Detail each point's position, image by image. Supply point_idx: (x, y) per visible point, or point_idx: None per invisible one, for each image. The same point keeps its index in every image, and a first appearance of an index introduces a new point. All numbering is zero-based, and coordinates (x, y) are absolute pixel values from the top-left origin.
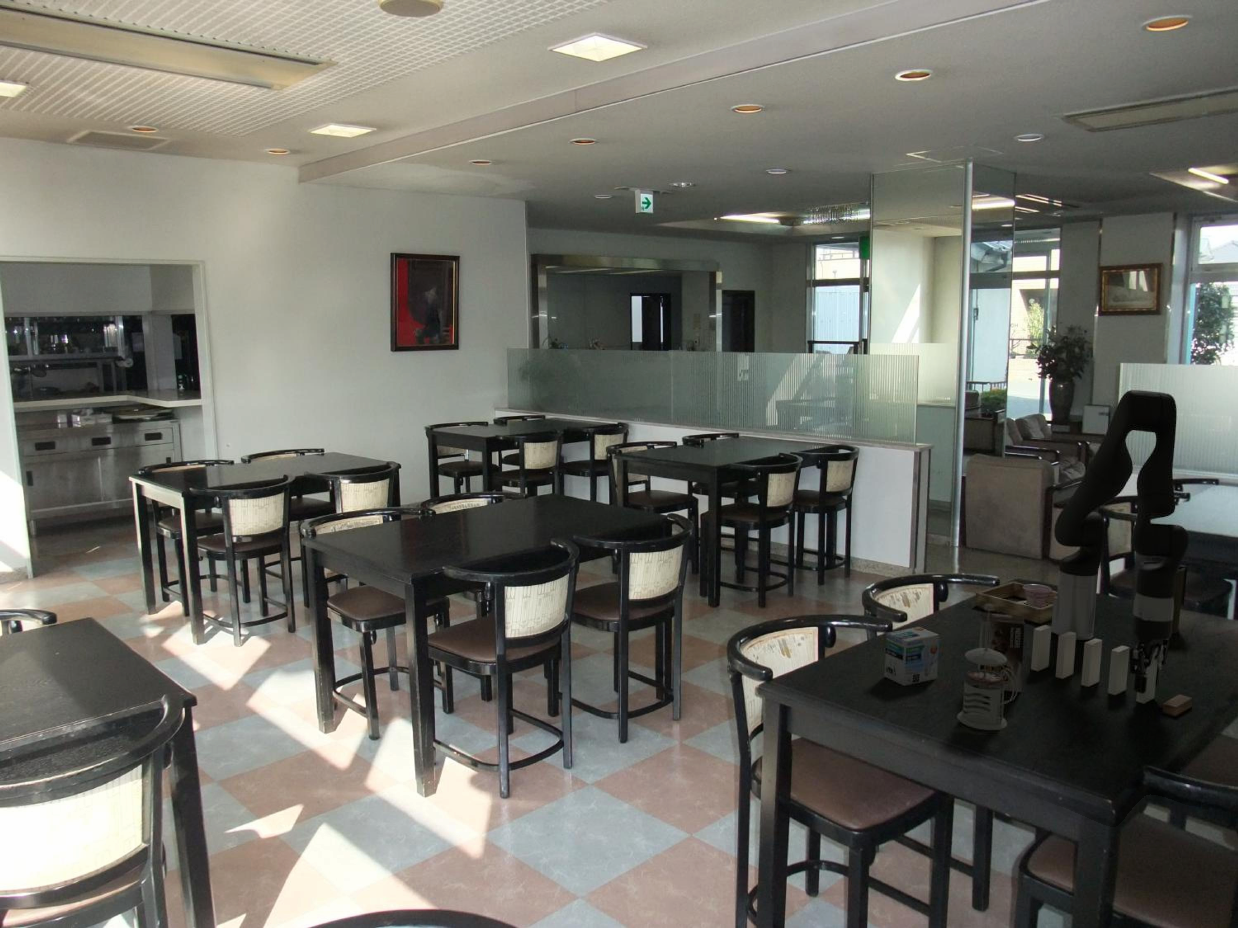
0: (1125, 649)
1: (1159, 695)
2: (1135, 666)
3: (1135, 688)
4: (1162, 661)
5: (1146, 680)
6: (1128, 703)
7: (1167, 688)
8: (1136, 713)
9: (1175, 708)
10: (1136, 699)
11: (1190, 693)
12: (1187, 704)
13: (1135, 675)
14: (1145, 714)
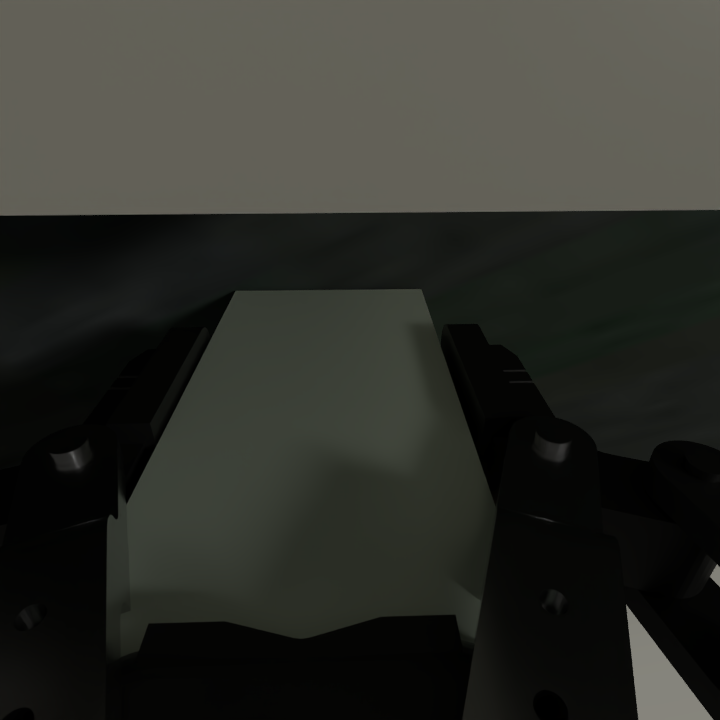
0: (356, 208)
1: (505, 338)
2: (16, 520)
3: (140, 360)
4: (630, 599)
5: None
6: (139, 272)
7: (706, 314)
8: (27, 385)
9: None
10: (232, 297)
11: (689, 433)
12: None
13: (115, 416)
14: (74, 421)
